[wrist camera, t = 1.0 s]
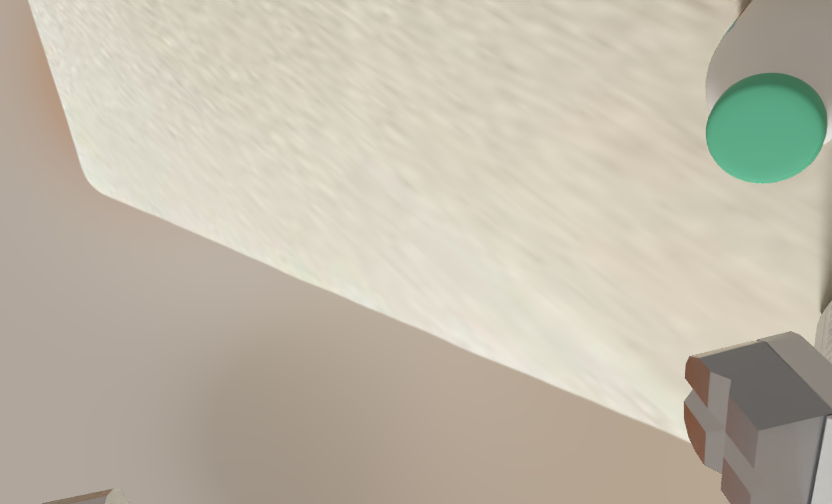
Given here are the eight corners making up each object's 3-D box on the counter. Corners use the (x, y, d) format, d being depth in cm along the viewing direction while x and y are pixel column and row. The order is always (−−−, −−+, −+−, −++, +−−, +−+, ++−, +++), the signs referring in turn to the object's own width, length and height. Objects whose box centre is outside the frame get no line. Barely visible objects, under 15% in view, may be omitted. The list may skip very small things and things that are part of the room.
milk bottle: (788, -56, 42) (735, 6, 27) (910, 5, 41) (922, 105, 26) (714, 56, 47) (634, 159, 32) (819, 114, 45) (786, 251, 31)
